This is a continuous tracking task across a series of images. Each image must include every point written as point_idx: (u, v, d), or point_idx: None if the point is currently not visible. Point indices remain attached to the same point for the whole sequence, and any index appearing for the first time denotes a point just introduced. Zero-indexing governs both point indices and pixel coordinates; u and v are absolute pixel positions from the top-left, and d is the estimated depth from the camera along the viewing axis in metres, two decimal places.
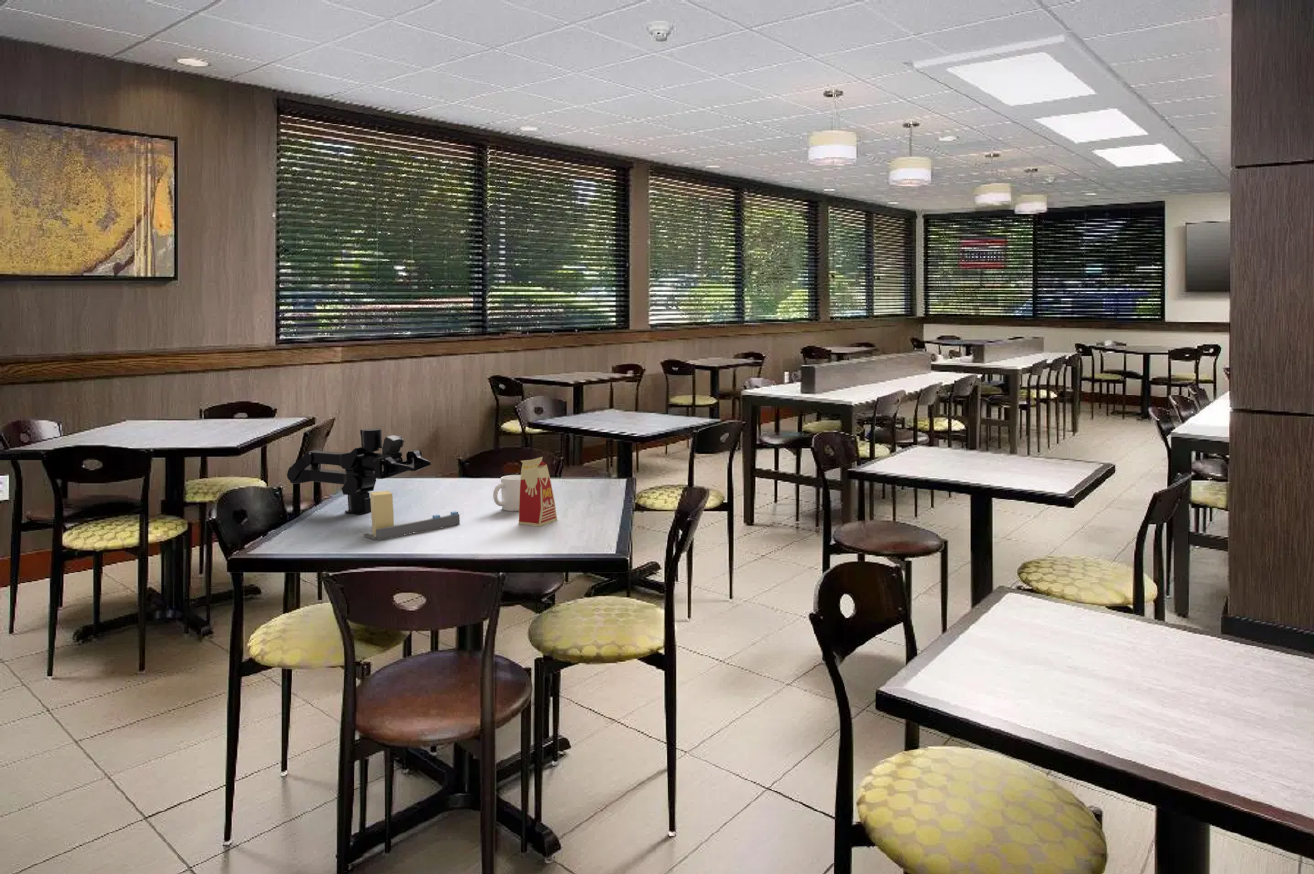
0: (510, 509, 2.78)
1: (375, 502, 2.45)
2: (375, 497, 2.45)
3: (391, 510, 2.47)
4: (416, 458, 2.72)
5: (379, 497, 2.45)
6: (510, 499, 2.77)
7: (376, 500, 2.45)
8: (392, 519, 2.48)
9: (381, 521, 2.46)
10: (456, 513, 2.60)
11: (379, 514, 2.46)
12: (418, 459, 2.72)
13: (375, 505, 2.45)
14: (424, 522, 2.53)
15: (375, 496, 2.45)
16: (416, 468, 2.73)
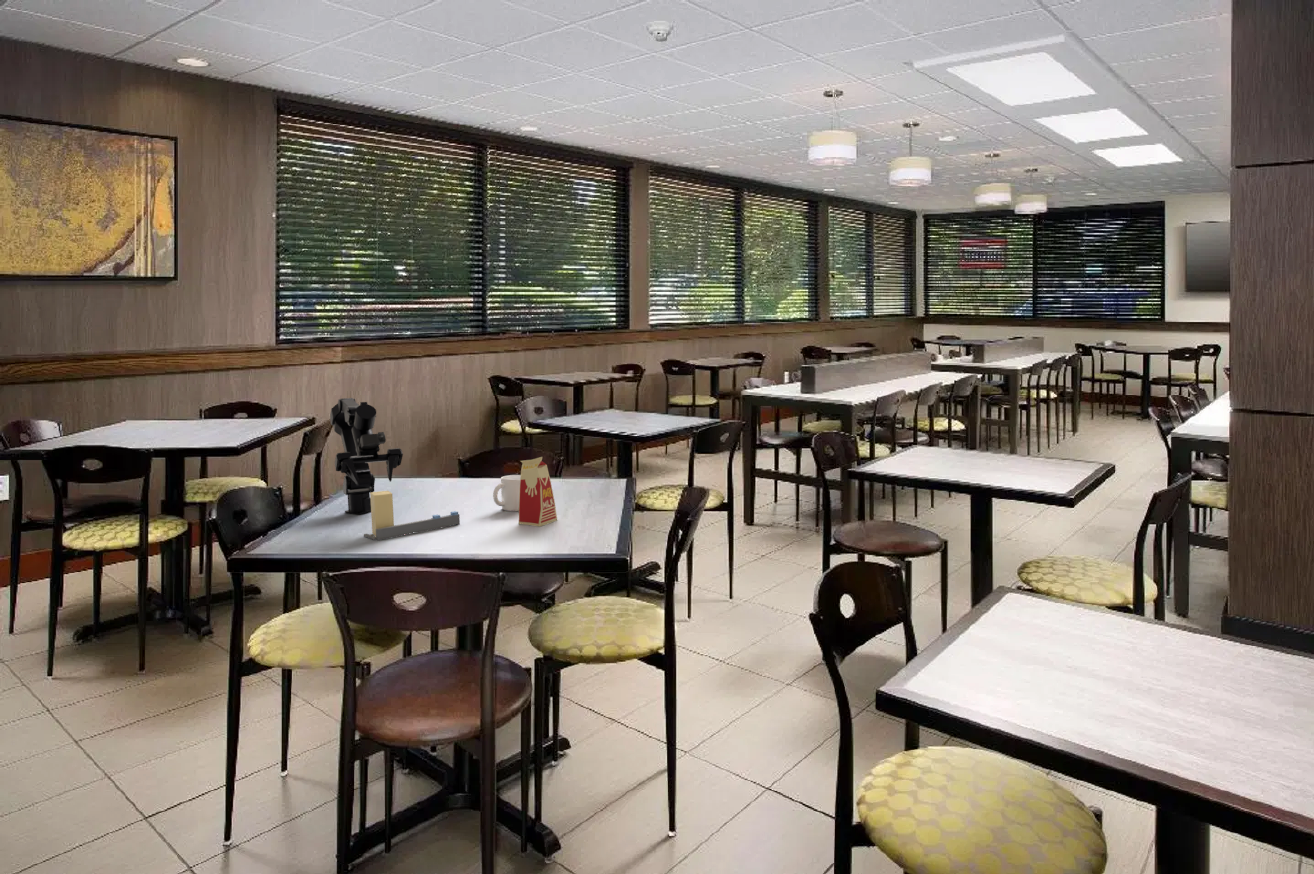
0: (510, 509, 2.78)
1: (375, 502, 2.45)
2: (375, 497, 2.45)
3: (391, 510, 2.47)
4: (388, 462, 2.60)
5: (379, 497, 2.45)
6: (510, 499, 2.77)
7: (376, 500, 2.45)
8: (392, 519, 2.48)
9: (381, 521, 2.46)
10: (456, 513, 2.60)
11: (379, 514, 2.46)
12: (388, 465, 2.59)
13: (375, 505, 2.45)
14: (424, 522, 2.53)
15: (375, 496, 2.45)
16: (387, 468, 2.62)
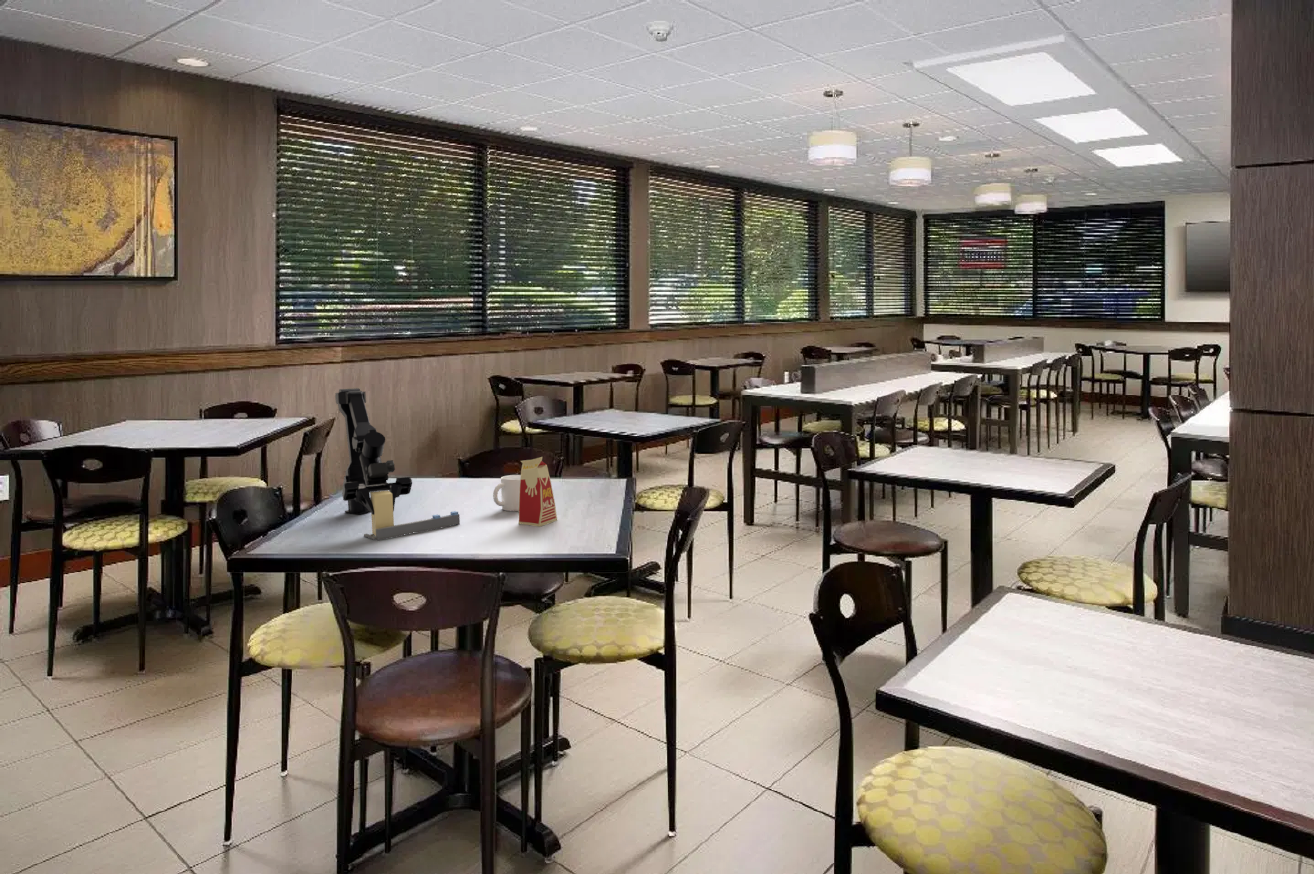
0: (510, 509, 2.78)
1: (375, 502, 2.45)
2: (375, 497, 2.45)
3: (391, 510, 2.47)
4: None
5: (379, 497, 2.45)
6: (510, 499, 2.77)
7: (376, 500, 2.45)
8: (392, 519, 2.48)
9: (381, 521, 2.46)
10: (456, 513, 2.60)
11: (379, 514, 2.46)
12: None
13: (375, 505, 2.45)
14: (424, 522, 2.53)
15: (375, 496, 2.45)
16: None
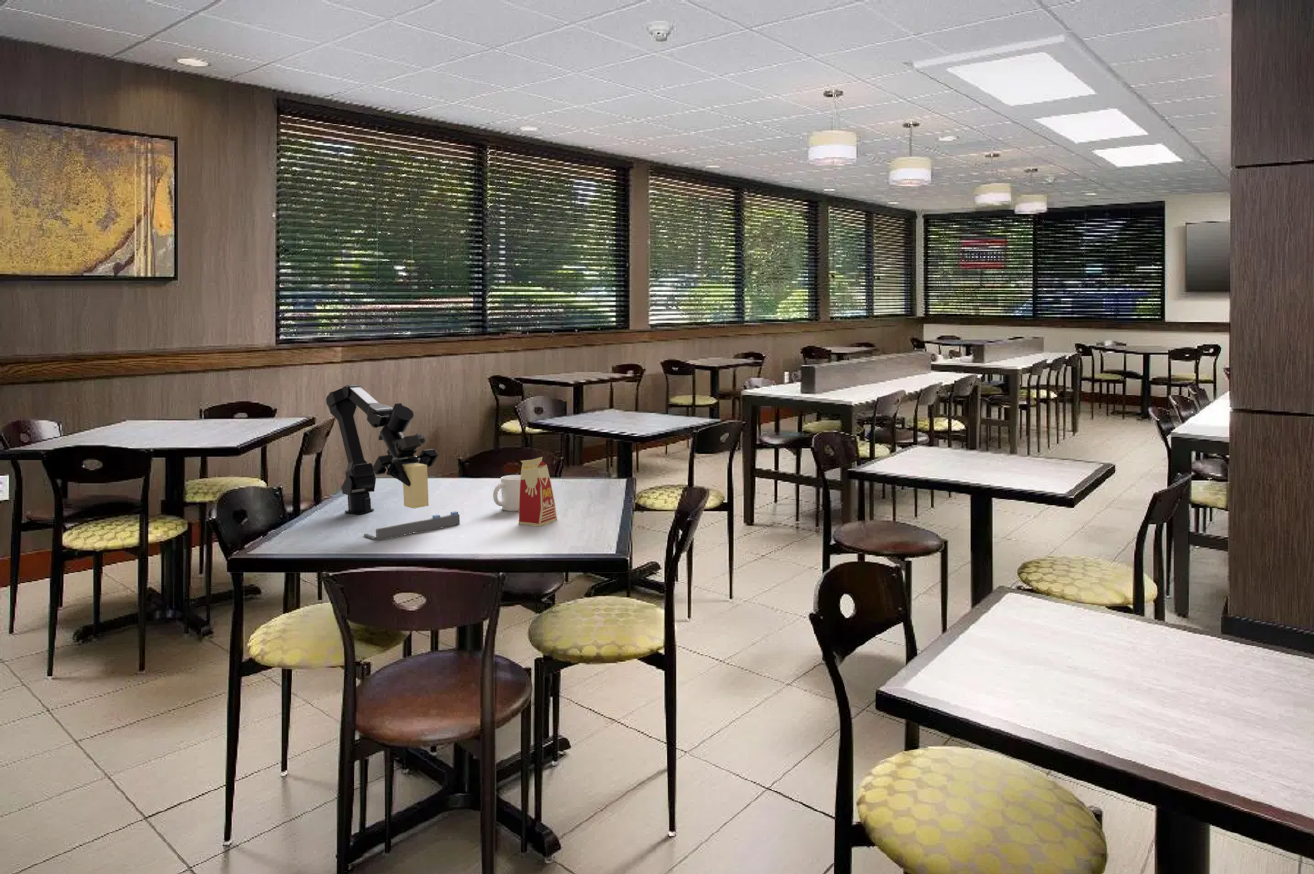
0: (510, 509, 2.78)
1: (412, 474, 2.50)
2: (412, 469, 2.50)
3: (426, 481, 2.54)
4: None
5: (416, 469, 2.51)
6: (510, 499, 2.77)
7: (413, 472, 2.50)
8: (427, 490, 2.54)
9: (417, 492, 2.52)
10: (456, 513, 2.60)
11: (416, 486, 2.51)
12: None
13: (412, 477, 2.50)
14: (424, 522, 2.53)
15: (412, 468, 2.50)
16: None
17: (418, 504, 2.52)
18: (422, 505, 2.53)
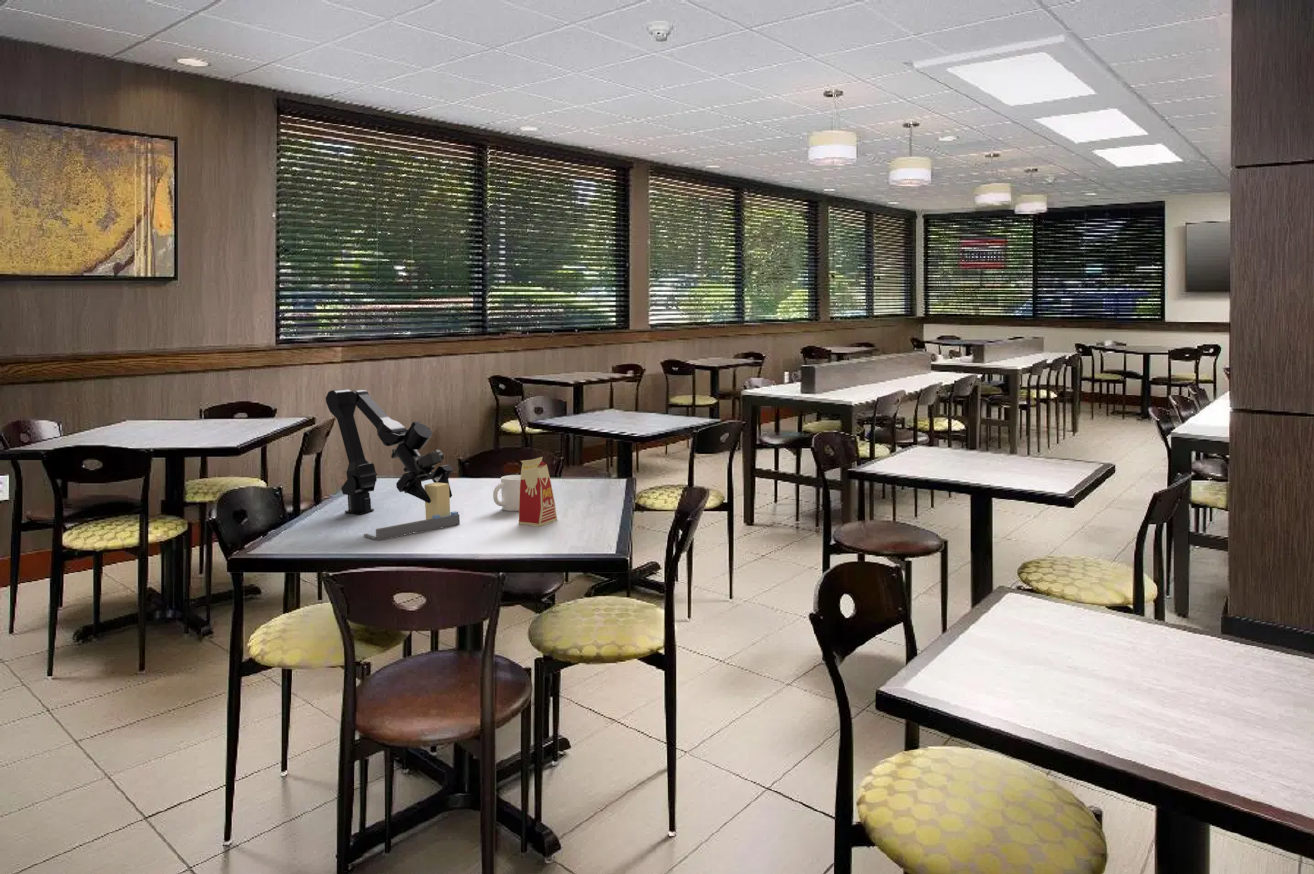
0: (510, 509, 2.78)
1: (437, 493, 2.57)
2: (437, 488, 2.57)
3: (448, 499, 2.61)
4: (443, 479, 2.65)
5: (440, 488, 2.58)
6: (510, 499, 2.77)
7: (438, 491, 2.57)
8: (449, 508, 2.62)
9: (441, 511, 2.59)
10: (456, 513, 2.60)
11: (440, 504, 2.59)
12: (444, 482, 2.65)
13: (437, 496, 2.57)
14: (424, 522, 2.53)
15: (437, 487, 2.57)
16: None
17: None
18: None
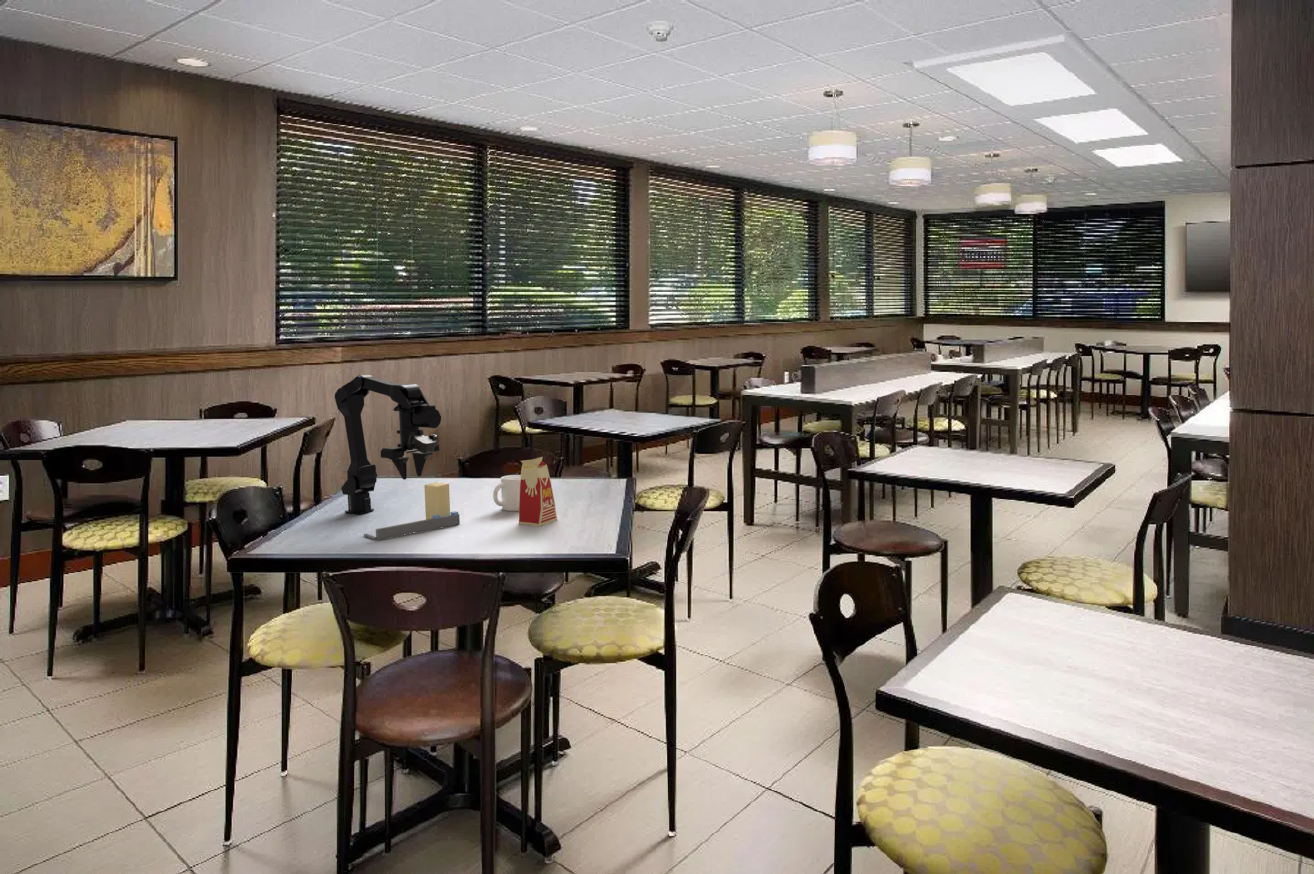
0: (510, 509, 2.78)
1: (437, 493, 2.57)
2: (437, 488, 2.57)
3: (448, 499, 2.61)
4: (421, 457, 2.67)
5: (440, 488, 2.58)
6: (510, 499, 2.77)
7: (438, 491, 2.57)
8: (449, 508, 2.62)
9: (441, 511, 2.59)
10: (456, 513, 2.60)
11: (440, 504, 2.59)
12: (421, 460, 2.67)
13: (437, 496, 2.57)
14: (424, 522, 2.53)
15: (437, 487, 2.57)
16: (414, 456, 2.68)
17: None
18: None
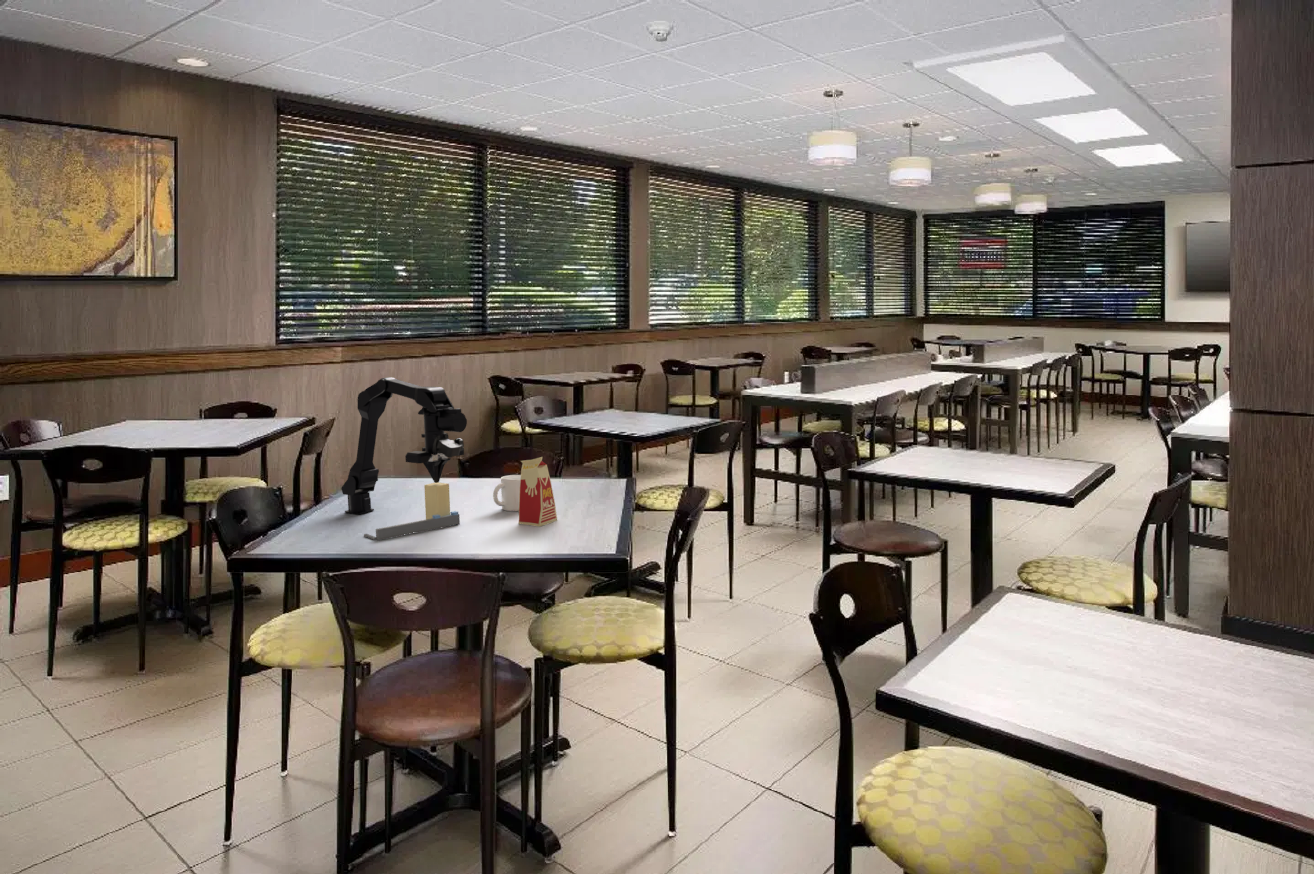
0: (510, 509, 2.78)
1: (437, 493, 2.57)
2: (437, 488, 2.57)
3: (448, 499, 2.61)
4: (439, 463, 2.59)
5: (440, 488, 2.58)
6: (510, 499, 2.77)
7: (438, 491, 2.57)
8: (449, 508, 2.62)
9: (441, 511, 2.59)
10: (456, 513, 2.60)
11: (440, 504, 2.59)
12: (439, 466, 2.59)
13: (437, 496, 2.57)
14: (424, 522, 2.53)
15: (437, 487, 2.57)
16: None
17: None
18: None
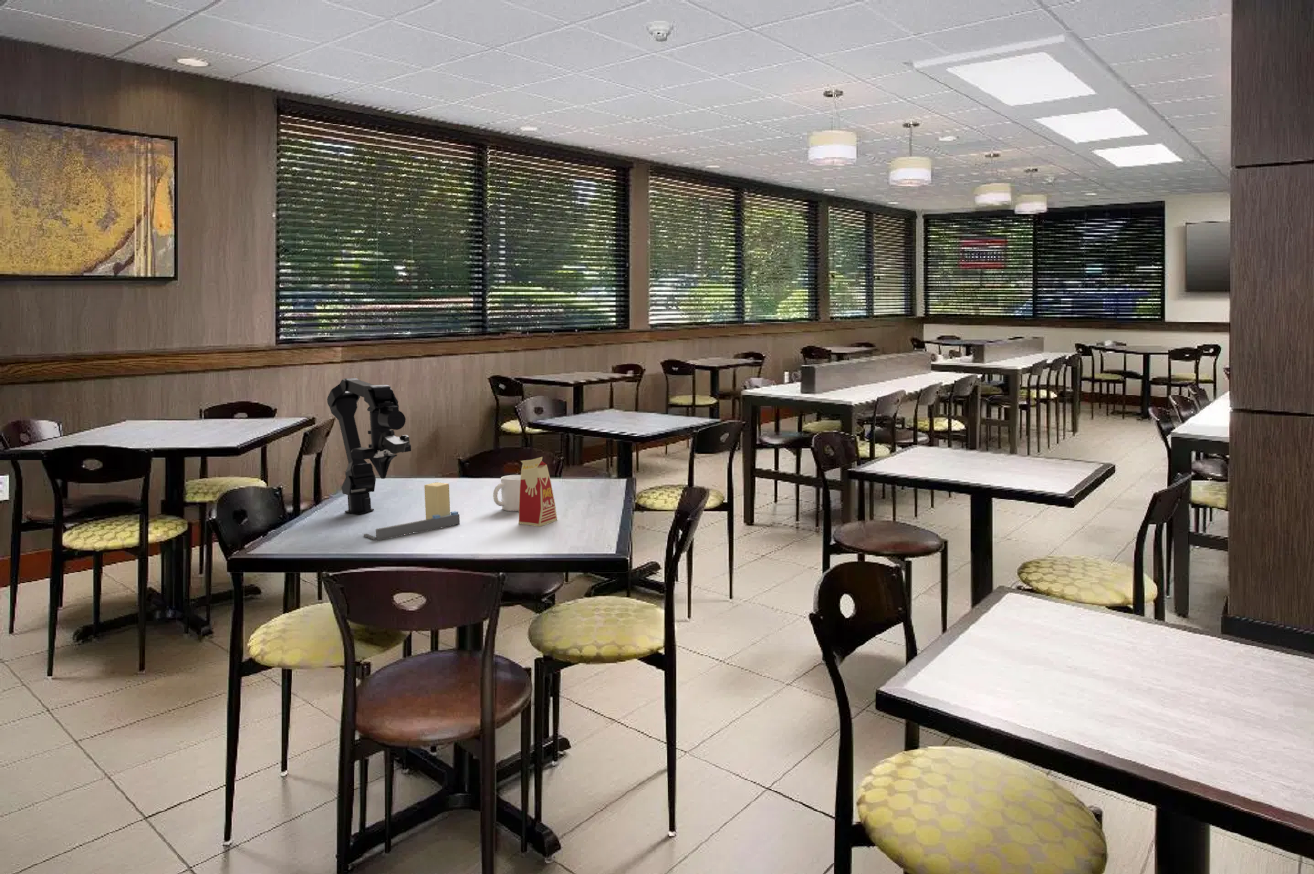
0: (510, 509, 2.78)
1: (437, 493, 2.57)
2: (437, 488, 2.57)
3: (448, 499, 2.61)
4: (386, 459, 2.64)
5: (440, 488, 2.58)
6: (510, 499, 2.77)
7: (438, 491, 2.57)
8: (449, 508, 2.62)
9: (441, 511, 2.59)
10: (456, 513, 2.60)
11: (440, 504, 2.59)
12: (385, 462, 2.64)
13: (437, 496, 2.57)
14: (424, 522, 2.53)
15: (437, 487, 2.57)
16: None
17: None
18: None
